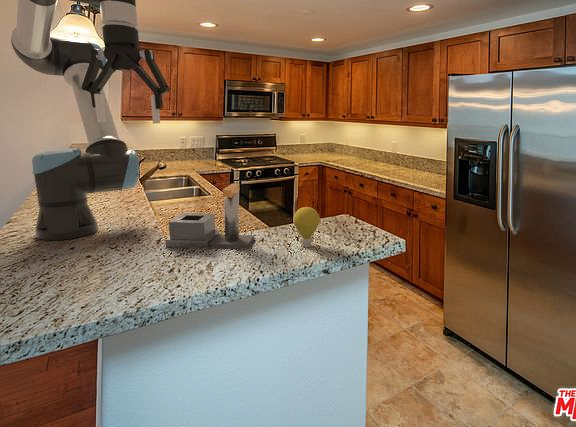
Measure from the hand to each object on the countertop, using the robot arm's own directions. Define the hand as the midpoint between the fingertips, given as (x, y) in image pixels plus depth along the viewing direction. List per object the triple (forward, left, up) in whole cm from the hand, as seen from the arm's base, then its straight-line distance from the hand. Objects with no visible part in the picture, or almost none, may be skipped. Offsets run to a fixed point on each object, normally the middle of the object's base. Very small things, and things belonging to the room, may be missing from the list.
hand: (129, 122), depth 89 cm
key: (+10, +22, -29) cm, 38 cm away
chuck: (+5, +13, -30) cm, 33 cm away
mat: (+10, +22, -30) cm, 39 cm away
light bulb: (+19, +39, -31) cm, 53 cm away
